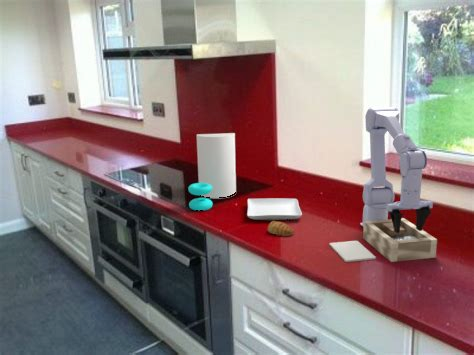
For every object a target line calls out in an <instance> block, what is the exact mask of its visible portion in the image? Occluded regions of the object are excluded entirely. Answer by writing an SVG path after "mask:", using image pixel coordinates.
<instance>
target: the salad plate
mask: <svg viewBox="0 0 474 355" xmlns="http://www.w3.org/2000/svg"><path fill="white" fill-rule="evenodd" d="M246 202H247V211H246V212H247V213H246V216H247V217H248V218H249V219H251V220H257V221H279V220H281V221H282V220H285V221H286V220H287V219H288V220H289V219H290V220H297V219H299V218H301V217H302V215H303V213H302V209H301V208H300V206H299V200H298V199H297V198H273V197H272V198H271V197H270V198H269V197H268V198H248V199H247V201H246ZM288 220H287V221H288Z"/></svg>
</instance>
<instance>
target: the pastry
mask: <svg viewBox="0 0 474 355" xmlns="http://www.w3.org/2000/svg"><path fill="white" fill-rule="evenodd" d="M267 232H268V233H270V234H272V235H274V234H276V235H275V236H280V235H282V237H291V236H292V235H293V234H294V232H295V230H294V229H293V227H292V226H290V225H289V224H287V223H285V222H281V221H277V220H271V222H270V223H269V224H268V227H267Z"/></svg>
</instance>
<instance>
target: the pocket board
mask: <svg viewBox="0 0 474 355" xmlns="http://www.w3.org/2000/svg"><path fill="white" fill-rule="evenodd" d="M382 223H392V219H391V218H390V219H387V220H378V221H367V222H364V227H363V226H362V227H363V233H362V239H364V240H365V241H366V242H367V243H368V244H369V245H370V246H372V247H373V248H374V249H375V250H376V251H377V252H378V253H380V254H381V255H382V256H383V257H384V258H386V260H388V261H390V262H391V263H395V262H405V261H413V260H423V259H431V258H432V259H433V258H437V257H436V256H437V247H438V246H437V245H438V239H437V238H435V237H434V236H432V235H431V234H430V233H428V232H427V231H425V230H424V229H422V231H419V230H417V229H416V224H415V223H412V222H410V221H409V220H408V219H406V218H404V217H402V218H401V222H400V227H402V228H403V229H405V235H403V236H415V237H417V238H418V239H409V240H398V241H395V240H393V239H392V238H393V237H391V236H390V235H389V234H387V233H386V232H385V231H384V230H382Z"/></svg>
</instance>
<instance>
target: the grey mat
mask: <svg viewBox="0 0 474 355" xmlns="http://www.w3.org/2000/svg"><path fill="white" fill-rule="evenodd" d="M328 245H329V246H330V248H332V250H333V251H335V253H336V254H337V253H338V255H339V257H340V258H341V259H342V260H343V261H344V262H345V263H350V262H359V261H360V262H361V261H369V260H377V256H375V255H374V254H373V253H372V252H371V251H370V250H369V249H367V248H366V247H365V246H364V245H363V244H362V243H361V242H359V241H358V240H349V241H337V242H329V244H328Z"/></svg>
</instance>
